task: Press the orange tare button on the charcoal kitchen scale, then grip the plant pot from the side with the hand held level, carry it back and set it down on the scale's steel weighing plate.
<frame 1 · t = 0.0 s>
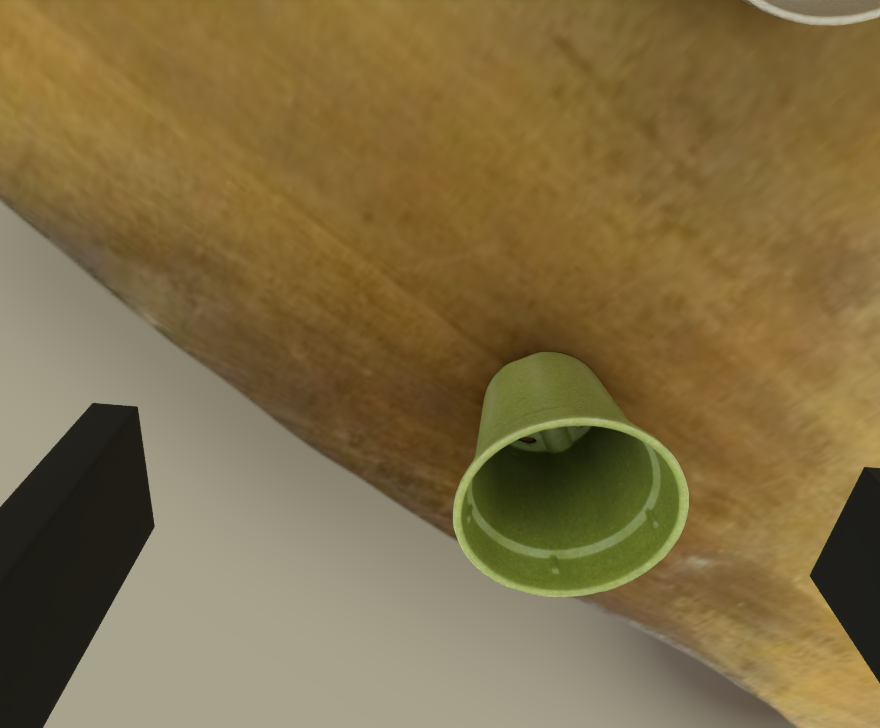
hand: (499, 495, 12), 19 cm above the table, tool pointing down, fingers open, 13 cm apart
plant pot: (540, 400, 34), on the table
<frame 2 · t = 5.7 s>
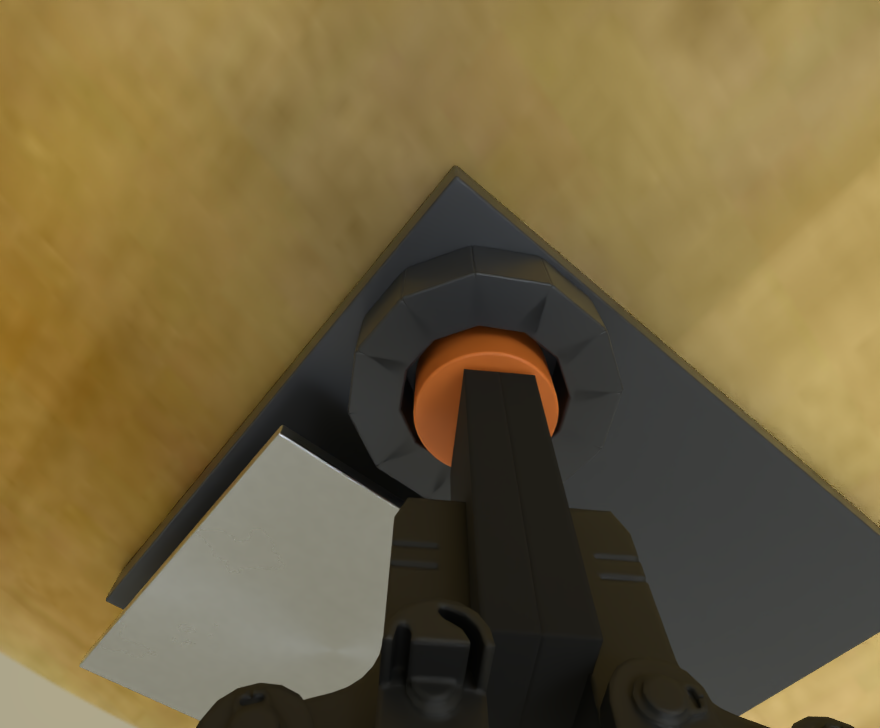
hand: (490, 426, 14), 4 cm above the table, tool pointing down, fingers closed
weighing plate: (336, 638, 19), resting on scale
scale: (520, 568, 21), on the table
tare button: (483, 396, 15), point 3 cm above the table, slide at -0.7 cm, touching gripper
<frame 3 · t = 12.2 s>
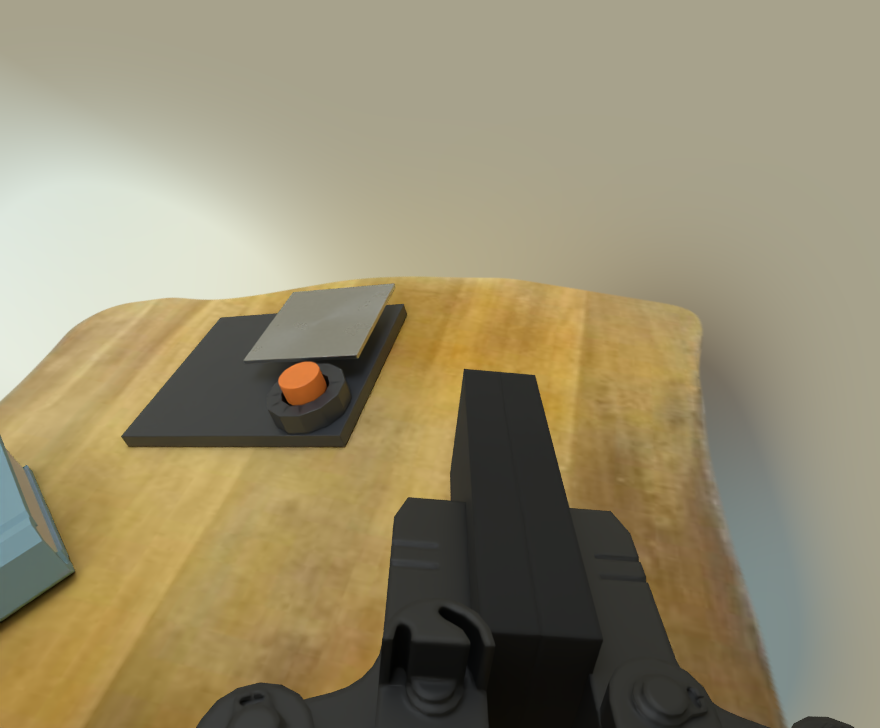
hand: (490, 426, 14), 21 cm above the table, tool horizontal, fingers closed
weighing plate: (323, 324, 57), resting on scale
scale: (275, 377, 57), on the table
tare button: (302, 383, 49), point 3 cm above the table, slide at 0.1 cm
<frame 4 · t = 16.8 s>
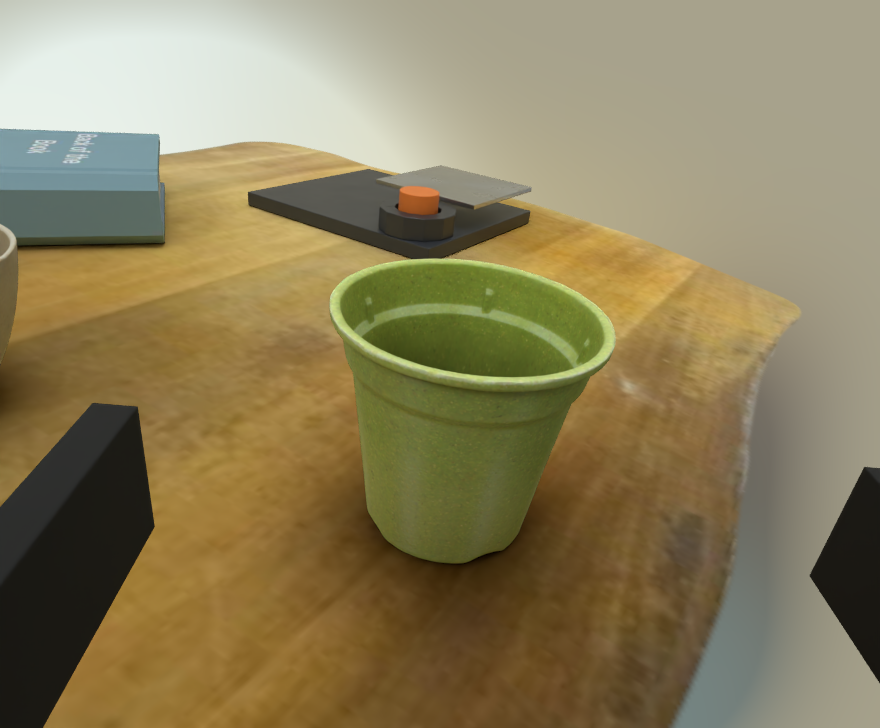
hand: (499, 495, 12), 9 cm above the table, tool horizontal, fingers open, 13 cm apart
book: (7, 218, 51), on the table
weighing plate: (455, 187, 60), resting on scale
scale: (392, 214, 61), on the table
plant pot: (445, 513, 26), on the table
tare button: (418, 201, 53), point 3 cm above the table, slide at 0.1 cm
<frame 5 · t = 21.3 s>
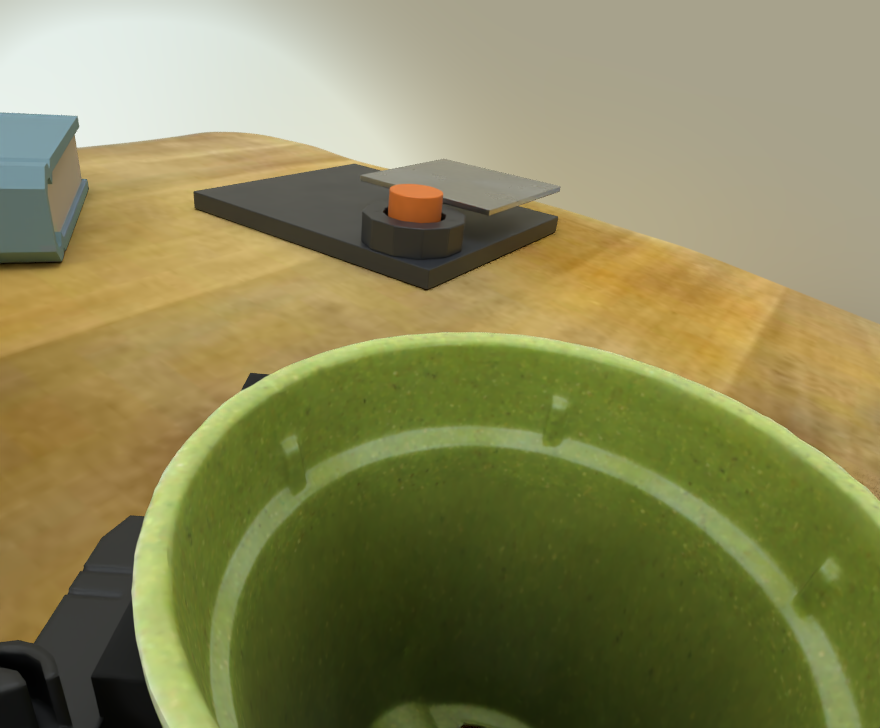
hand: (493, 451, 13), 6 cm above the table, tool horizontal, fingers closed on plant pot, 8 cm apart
weighing plate: (463, 186, 47), resting on scale
scale: (382, 220, 48), on the table
tare button: (415, 205, 39), point 3 cm above the table, slide at 0.1 cm
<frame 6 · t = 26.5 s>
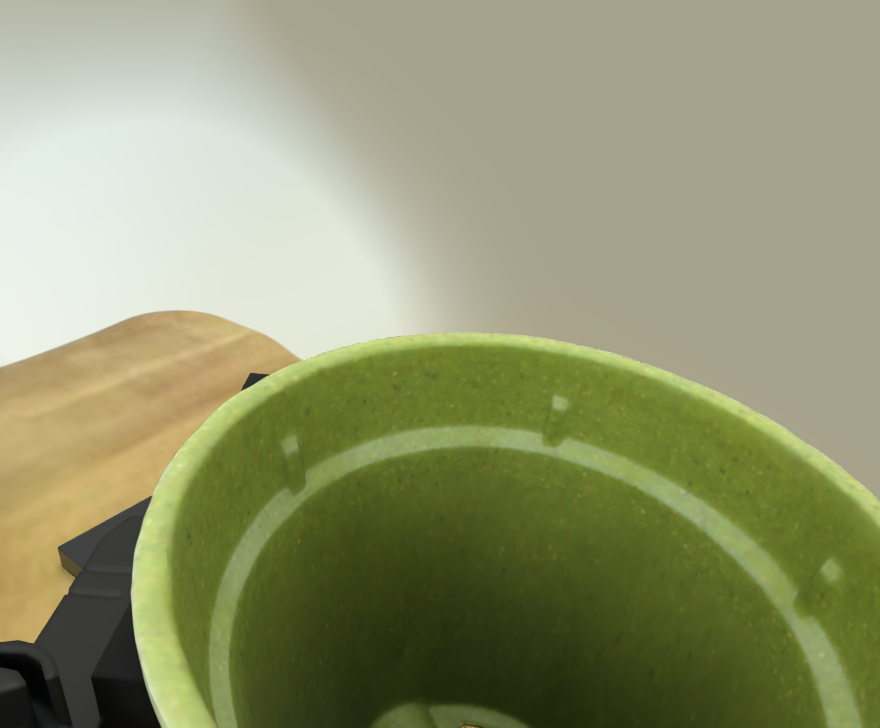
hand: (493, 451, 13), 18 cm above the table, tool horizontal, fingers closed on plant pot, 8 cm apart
scale: (332, 564, 34), on the table
when the fingers open (9 cm above the table, at t = 31.7 s): plant pot stays where it is, resting on weighing plate.
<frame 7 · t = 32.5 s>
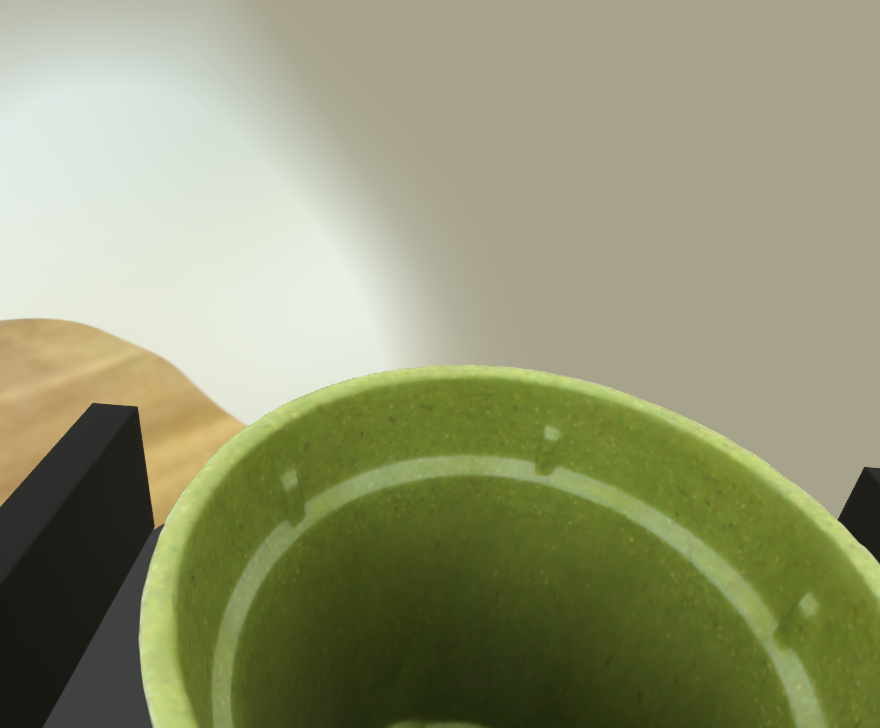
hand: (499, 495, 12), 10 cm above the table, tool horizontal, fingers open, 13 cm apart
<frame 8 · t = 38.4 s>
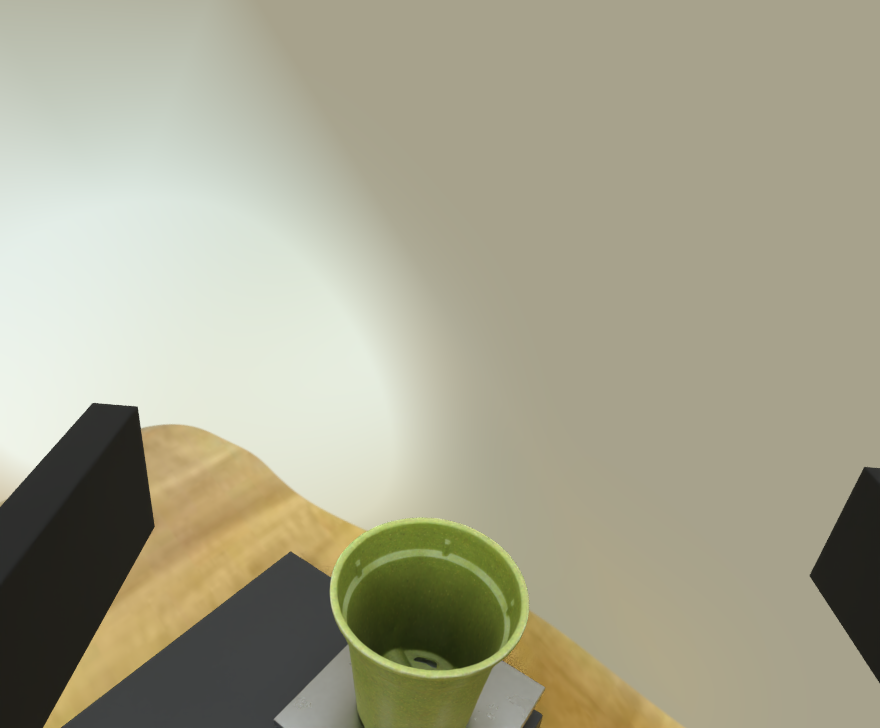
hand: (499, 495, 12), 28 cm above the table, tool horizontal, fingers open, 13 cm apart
weighing plate: (414, 707, 35), resting on scale
plant pot: (415, 704, 35), point 3 cm above the table, touching weighing plate
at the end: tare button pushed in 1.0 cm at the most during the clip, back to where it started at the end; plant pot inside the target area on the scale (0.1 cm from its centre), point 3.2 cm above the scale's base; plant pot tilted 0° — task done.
